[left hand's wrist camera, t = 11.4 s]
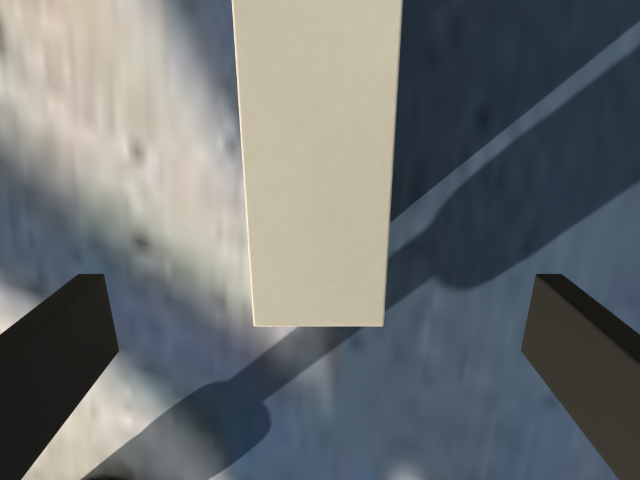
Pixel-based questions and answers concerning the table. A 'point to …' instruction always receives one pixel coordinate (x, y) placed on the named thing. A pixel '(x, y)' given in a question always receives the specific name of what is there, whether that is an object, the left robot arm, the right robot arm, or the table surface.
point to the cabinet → (317, 155)
